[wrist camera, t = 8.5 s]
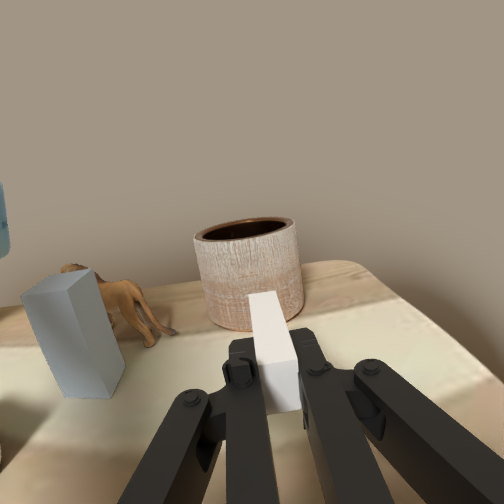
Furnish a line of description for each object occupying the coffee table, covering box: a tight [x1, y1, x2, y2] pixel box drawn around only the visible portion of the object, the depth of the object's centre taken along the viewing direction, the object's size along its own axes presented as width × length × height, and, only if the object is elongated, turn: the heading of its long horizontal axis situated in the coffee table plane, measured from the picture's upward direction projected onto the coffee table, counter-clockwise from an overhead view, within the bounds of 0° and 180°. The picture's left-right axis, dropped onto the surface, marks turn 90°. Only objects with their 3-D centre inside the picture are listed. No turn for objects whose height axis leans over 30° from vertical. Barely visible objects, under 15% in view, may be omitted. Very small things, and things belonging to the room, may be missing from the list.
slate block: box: [21, 268, 126, 399], centre depth 23 cm, size 5×5×10 cm
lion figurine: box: [60, 264, 176, 347], centre depth 32 cm, size 15×5×9 cm, turn 79°
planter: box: [193, 217, 304, 332], centre depth 34 cm, size 11×11×10 cm
